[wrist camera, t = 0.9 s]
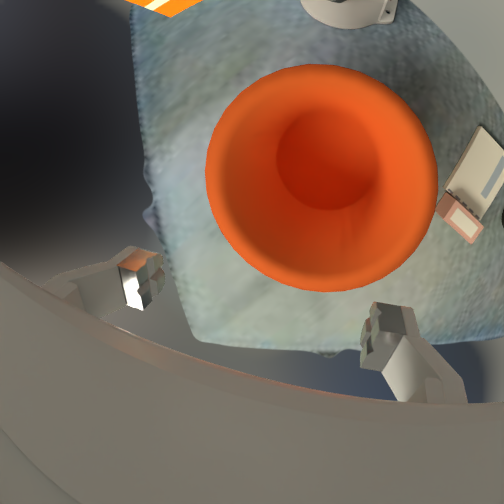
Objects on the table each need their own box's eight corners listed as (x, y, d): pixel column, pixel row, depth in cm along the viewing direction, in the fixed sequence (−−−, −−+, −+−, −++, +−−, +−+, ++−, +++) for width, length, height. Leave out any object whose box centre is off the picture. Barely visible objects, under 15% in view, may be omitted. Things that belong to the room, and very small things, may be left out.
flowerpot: (226, 147, 47) (165, 168, 30) (336, 60, 35) (335, 20, 18) (312, 252, 52) (296, 321, 35) (424, 181, 39) (471, 223, 23)
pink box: (445, 191, 39) (456, 200, 34) (472, 216, 38) (484, 227, 34) (434, 209, 41) (443, 219, 36) (461, 233, 40) (471, 244, 36)
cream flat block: (477, 126, 31) (481, 126, 30) (510, 161, 31) (514, 163, 30) (442, 187, 39) (445, 189, 37) (476, 218, 38) (479, 221, 37)
